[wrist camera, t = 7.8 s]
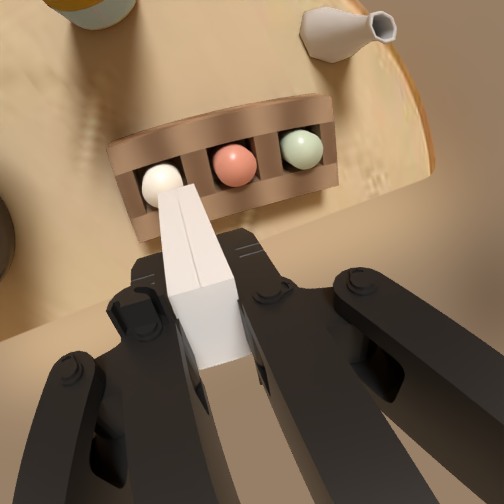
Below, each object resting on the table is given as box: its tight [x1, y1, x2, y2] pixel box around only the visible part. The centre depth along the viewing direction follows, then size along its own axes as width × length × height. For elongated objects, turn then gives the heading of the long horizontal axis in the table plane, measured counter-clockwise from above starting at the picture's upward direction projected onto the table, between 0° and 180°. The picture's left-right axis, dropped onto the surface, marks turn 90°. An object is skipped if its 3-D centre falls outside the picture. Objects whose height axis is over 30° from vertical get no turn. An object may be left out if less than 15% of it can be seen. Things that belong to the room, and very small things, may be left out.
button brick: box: [210, 141, 257, 187], centre depth 30 cm, size 4×4×4 cm
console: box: [106, 94, 339, 243], centre depth 31 cm, size 22×10×4 cm, turn 100°
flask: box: [300, 6, 397, 64], centre depth 24 cm, size 7×7×10 cm
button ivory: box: [142, 160, 183, 208], centre depth 29 cm, size 4×4×4 cm
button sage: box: [278, 128, 323, 170], centre depth 31 cm, size 4×4×4 cm
